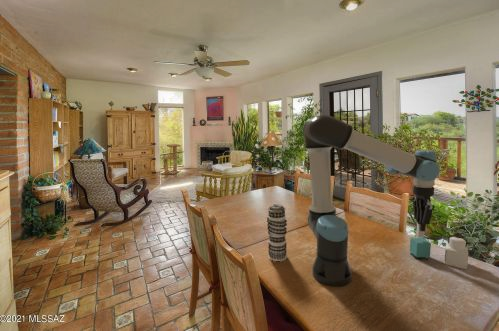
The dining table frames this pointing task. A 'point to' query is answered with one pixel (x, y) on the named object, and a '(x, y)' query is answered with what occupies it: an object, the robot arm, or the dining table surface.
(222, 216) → the dining table surface
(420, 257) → the dark grey upright block
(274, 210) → the model tower building
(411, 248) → the teal cube
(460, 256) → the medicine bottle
